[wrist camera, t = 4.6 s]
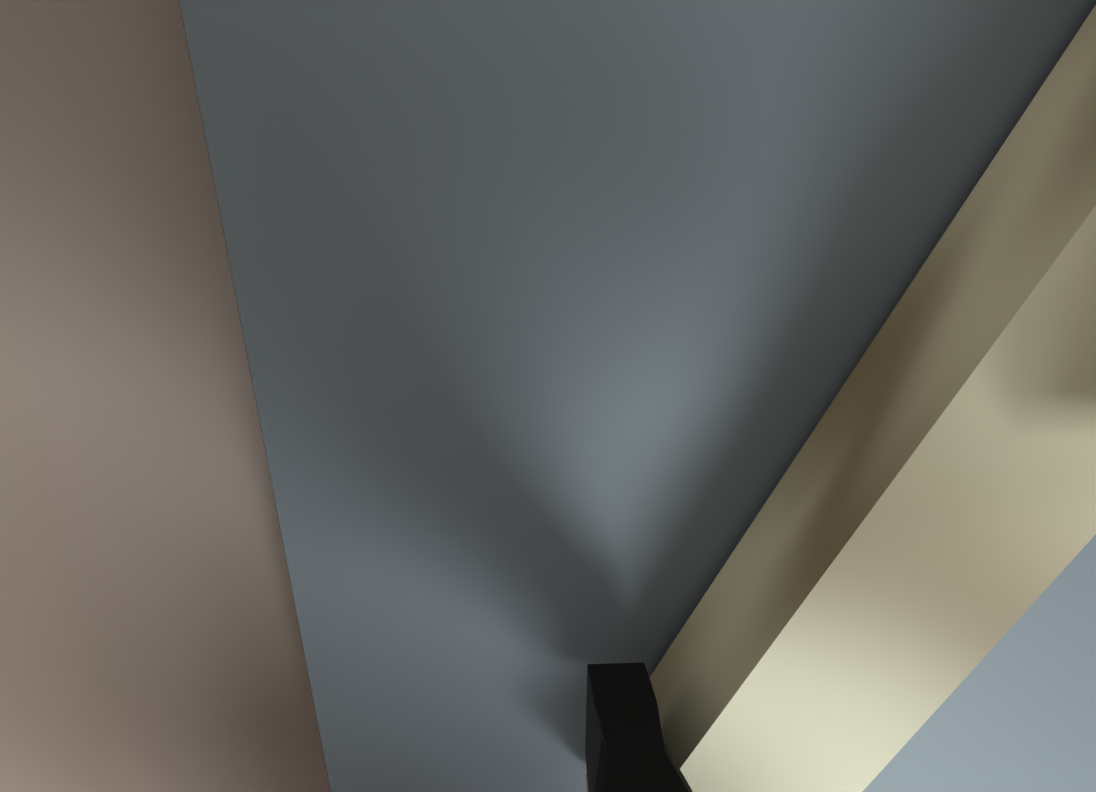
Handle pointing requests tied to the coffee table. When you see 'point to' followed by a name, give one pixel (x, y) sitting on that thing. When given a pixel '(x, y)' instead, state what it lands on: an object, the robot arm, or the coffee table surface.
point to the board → (591, 340)
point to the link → (915, 489)
